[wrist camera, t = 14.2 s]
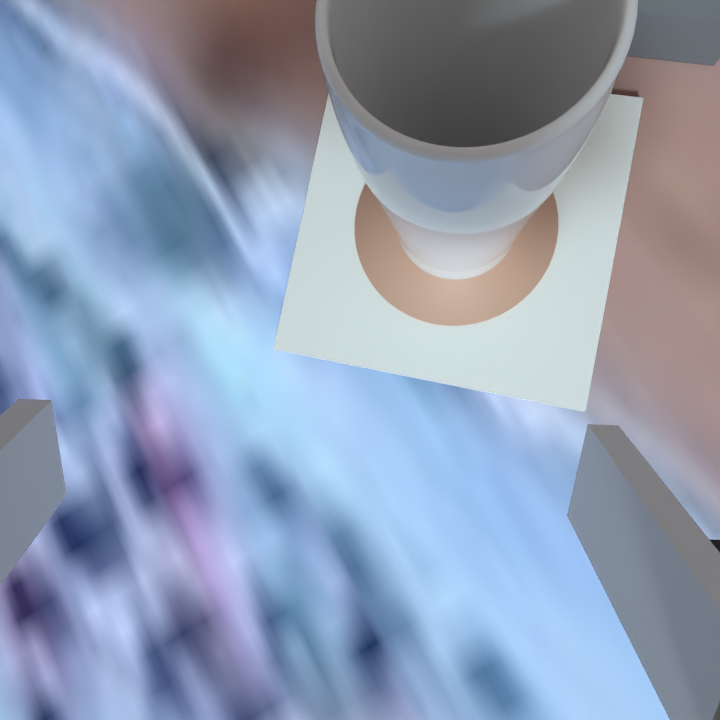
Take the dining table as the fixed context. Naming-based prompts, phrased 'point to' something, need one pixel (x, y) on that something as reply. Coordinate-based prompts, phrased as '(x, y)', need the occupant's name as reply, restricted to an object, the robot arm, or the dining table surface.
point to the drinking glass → (468, 110)
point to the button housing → (677, 31)
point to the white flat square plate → (467, 296)
